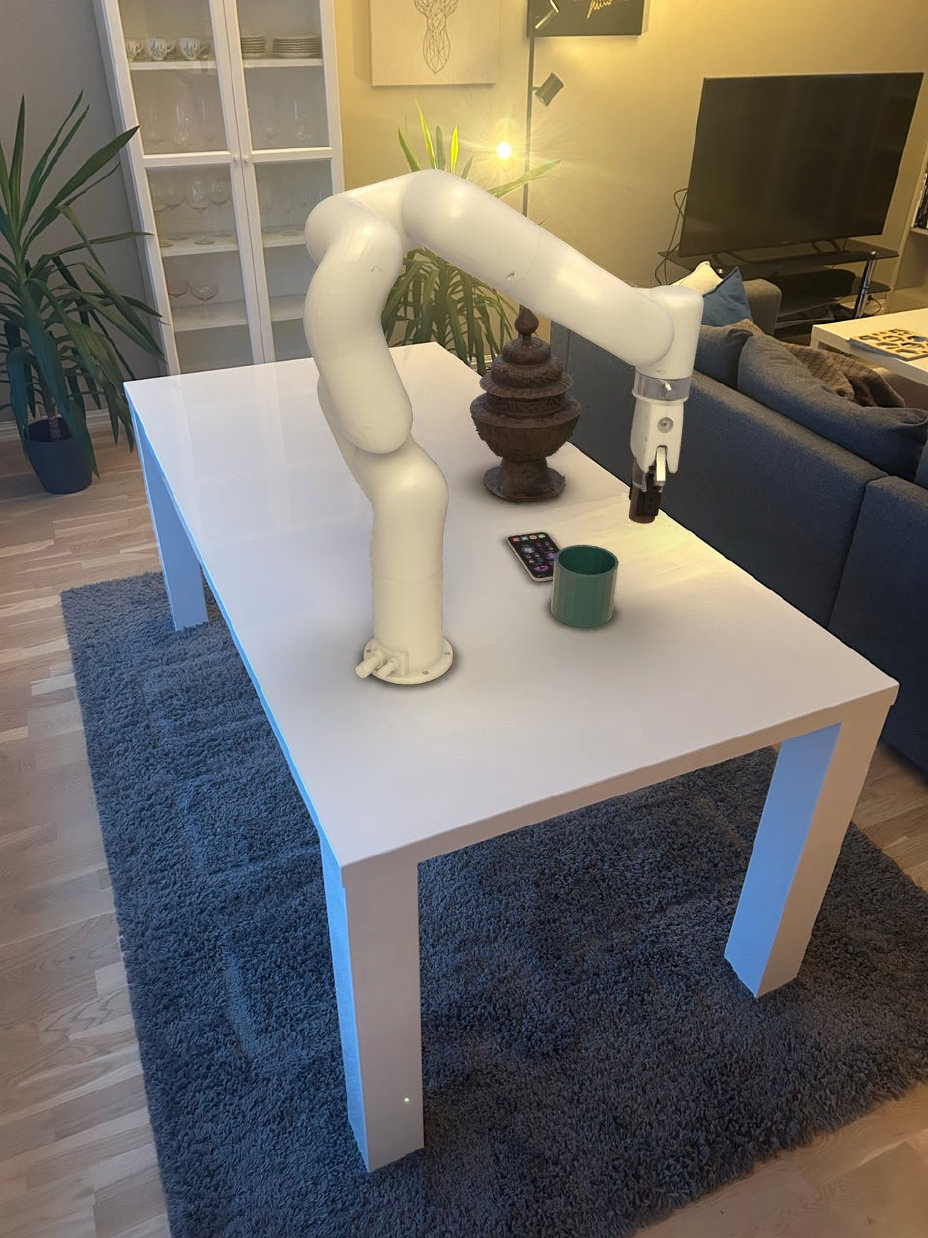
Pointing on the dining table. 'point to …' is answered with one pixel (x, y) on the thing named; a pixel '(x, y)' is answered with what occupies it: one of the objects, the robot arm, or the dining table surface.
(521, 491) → the decorative urn
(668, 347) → the robot arm
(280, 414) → the dining table surface
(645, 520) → the brown rounded cylinder
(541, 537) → the smartphone
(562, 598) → the cup
